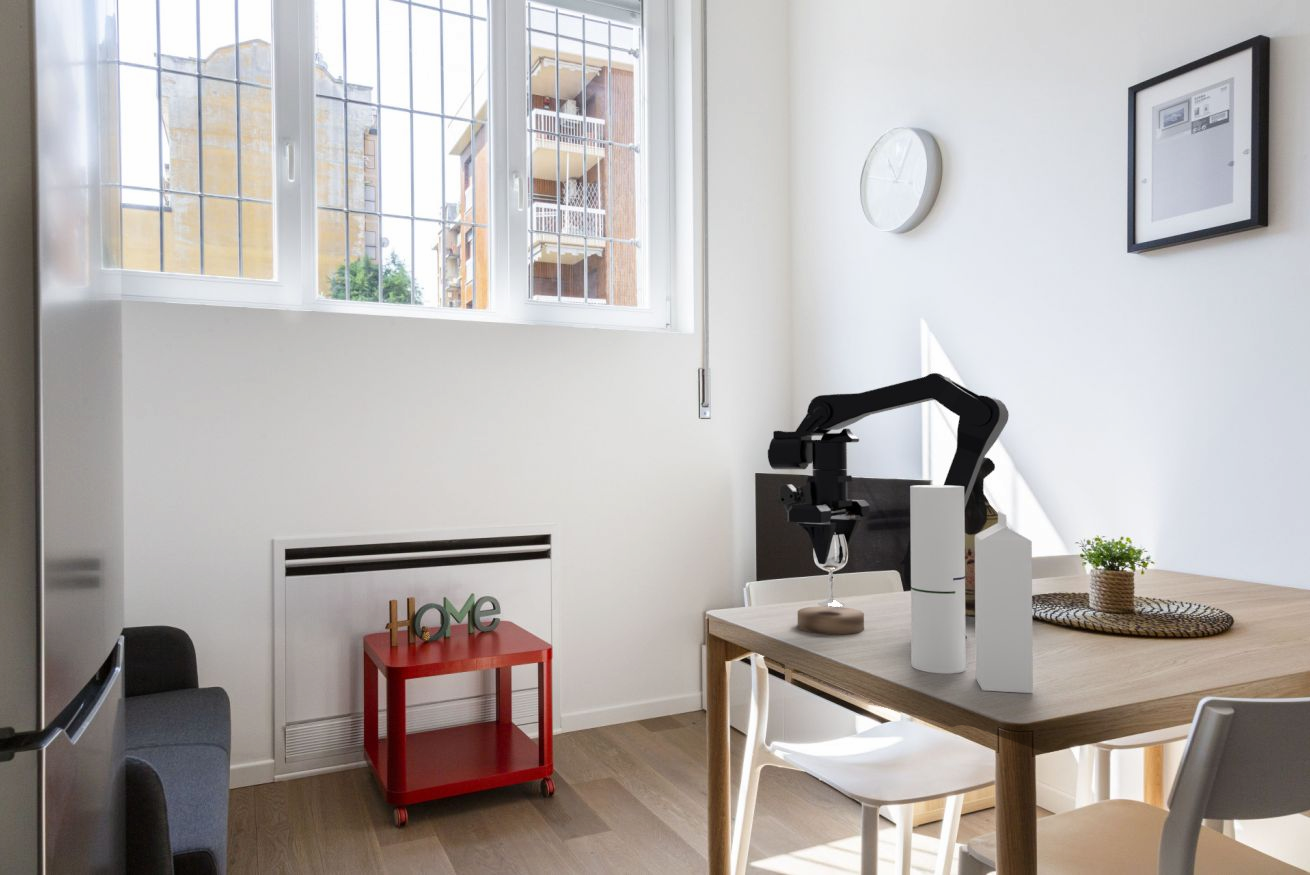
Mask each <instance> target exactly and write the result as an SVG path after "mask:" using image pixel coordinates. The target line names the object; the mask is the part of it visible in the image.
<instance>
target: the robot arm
mask: <svg viewBox="0 0 1310 875" xmlns="http://www.w3.org/2000/svg"><path fill="white" fill-rule="evenodd" d="M930 401H935V402H937V403H939V404H940V405H941V406H943V407H944V408H946V409H947V410H949V411H950V412H952V413H953V414H955V415H957V416H959V418H958V424H957V428H956V430H957V431H956V450H955V453H954V455H953V459H952V461H951V464H950V467H949V468H948V469H949V470H948V471H947V474H946V478H945V480H944V483H943V485H950V486H964V509H965V507H966V504H967V501H968V499H969V496H970V493H971V491H972V488H973V485H974V483H975V480H976V477H977V475H978V472H979V469H980V467H981V464H982V461H983V459H984V458H985V457H986V455H987V454H988V453H989V451H990V450H991V448H992V447H993V446H994V444H995V443H996V442H997V440H998V438H999V437H1000V435H1001V434H1002V432H1003V431H1004V429H1005V427H1006V425H1007V423H1008V421H1009V416H1010V415H1009V410H1008V408H1007V406H1006V404H1005V403H1004V402H1003V401H1002V400H1000V399H998V398H996V397H992V396H987V395H979V394H978V393H975V392H973V391H972V390H970V389H968V388H966V387H964V386H962V385H961V384H959V383H957V382H955V381H954V380H952V379H951V378H950V377H949V376H948V375H946V374H941V373H937V372H932V373H929V374H927V375H926V376H922V377H918V378H915V379H911V380H906V381H902V382H898V383H895V384H891V385H887V386H882V387H878V388H875V389H870V390H867V391H866V390H865V391H863V392H857V393H833V394H821V395H817V396H816V397H815V396H814V398H812V399H811V400H810V403H809V404H808V408H807V412H806V415H805V417H804V418H803V419H802V420H801V423H800V424H799V425H798V426H797V428H796V430H794V431H786V430H774V431H773V433H772V434H773V438H772V439H771V441H770V443H769V447H768V449H767V459H768V464H769V466H770V467H771V469H773V470H806V469H807V468H808V467H809V465H810V464H812V475H807V477H806V481H805V482H806V483H805V485H803V486H798V487H795V486H794V485H793V484H785V485H782V486H780V487H779V494H778V496H779V499H778V503H779V504H781V505H783V506H784V507H785V511H786V512H787V522H789V523H796V524H797V526H799V527H801V528H802V529H803V530H805V532H806V533H807V535H808V537H809V538H810V542H811V544H812V547H813V548H814V551H815V554H816V557H817V560H818V563H819V564H825V563H826V560H827V557H828V553H829V550H830V546H831V542H832V538H833V534H834V532H836V533H844V535H845V538H846V543H847V548H848V549H849V546H850V545H851V542H852V540H853V538H854V537H855V534H856V533H857V531H858V528H859V526H860V525H861V523H862V522H863V520H864V519H862V518H865V517H870V516H871V505H870V503H868V501H866V500H865V499H848V483H850V482H852V481H853V480H852V479H853V478H852V475H849V474H848V459H847V458H848V456H847V454H848V452H847V451H848V449H847V448H848V447H847V443H858V442H859V441H860V438H859V437H857V435H855V434H854V433H853V432H852V431H851V429H850V428H846V427H848V426H850V425H852V424H853V425H854V424H855V423H857V422H858V421H860V420H863V419H864V418H866V417H868V416H871V415H875V414H880V413H883V412H888V411H892V410H897V409H900V408H905V407H909V406H914V405H918V404H921V403H925V402H930ZM841 429H842V430H841ZM835 430H841V431H840V432H834V433H833V432H831V431H835ZM813 436H815V437H818V436H819V437H821V438H820V439H812V437H813ZM856 516H859V517H862V518H856ZM900 565H902V566H903V568H902V578H903V580H904V582H905V584H906V585H907V586H908V588H909V589H911V539H910V540H909V541H908V544H907V548H906V552H905V556H904V558H903V559H902V561H900ZM965 638H966V640H967V639H968V636H967V635H966V634H965Z"/></svg>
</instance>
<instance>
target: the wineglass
mask: <svg viewBox="0 0 1310 875" xmlns="http://www.w3.org/2000/svg"><path fill="white" fill-rule="evenodd" d="M848 549H849V547H848V548H847V543H846V538H845V535H844V533H836V532H834V534H833V538H832V542H831V546H830V550H829V553H828V557H827V560H826V563H825V564H819V563H818V560H817V557H816V554H815V551H814V548H813V549H812V551H813V552H812V553H813V554H812V555H813V560H814V563H815V565H816V566H817V567H818V568H819V569H821V570H823V571H826V572H828V575H827V581H828V585H829V596H828V598H827V599H826V600H825V601H820V602H818V603H817V605H818V606H819V607H820V606H824V607H844V606H845V605H846V604H845V603H843V602H840V601H837V600H836V599H835V598H834V596H833V584H834V580H835V575H834V572H836V571H840V570H841V569H843V568H844V567H845V566H846V564H847V563H848V558H849V550H848Z"/></svg>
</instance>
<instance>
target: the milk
mask: <svg viewBox="0 0 1310 875" xmlns="http://www.w3.org/2000/svg"><path fill="white" fill-rule="evenodd" d="M997 513H998V523H997V524H995V525H993V526H991V527H989V528H987V529H986V530H984V531H982V532H980V533H978V534H976V535H975V615H974V616H975V617H974V622H975V625H974V626H975V628H974V629H975V634H974V635H975V638H974V639H975V640H974V641H975V648H974V649H975V679H976V681H977V683H978V685H979V688H980V689H981V691H985V692H986V691H987V692H1002V693H1006V692H1007V693H1019V694H1020V693H1021V694H1033V693H1034V683H1033V682H1034V673H1033V672H1034V670H1033V668H1034V667H1033V666H1034V665H1033V663H1034V662H1033V661H1034V660H1033V657H1034V656H1033V561H1032V560H1033V558H1032V557H1033V550H1032V549H1033V546H1032V544H1033V542H1032V540H1030V539H1029V538H1027V537H1025V536H1023V535H1022V534H1019V533H1018V532H1016V531H1015V530H1013V529H1011V528H1009V527H1008V525H1007V524H1008V523H1007V514H1005V513H1003V512H1001V511H997Z"/></svg>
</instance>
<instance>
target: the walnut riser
mask: <svg viewBox="0 0 1310 875" xmlns="http://www.w3.org/2000/svg"><path fill="white" fill-rule="evenodd" d="M797 628H798V629H800V630H802V631H803V632H808V633H814V634H819V635H820V634H822V635H850V634H851V633H852V634H857V633H861V632H863V631H864V630H865V612H863V611H862V610H860V609H859V610H858V609H856V608H850V607H844V606H841V607H824V606H820V605H819V606H808V607H803V608H800V609H798V610H797Z"/></svg>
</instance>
